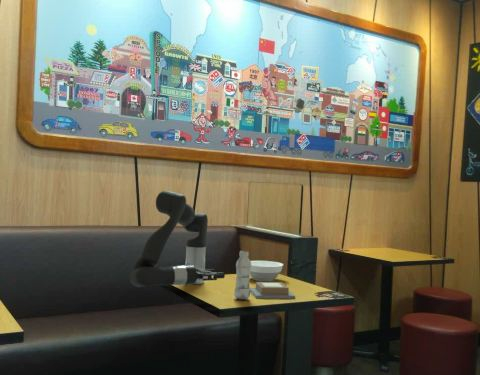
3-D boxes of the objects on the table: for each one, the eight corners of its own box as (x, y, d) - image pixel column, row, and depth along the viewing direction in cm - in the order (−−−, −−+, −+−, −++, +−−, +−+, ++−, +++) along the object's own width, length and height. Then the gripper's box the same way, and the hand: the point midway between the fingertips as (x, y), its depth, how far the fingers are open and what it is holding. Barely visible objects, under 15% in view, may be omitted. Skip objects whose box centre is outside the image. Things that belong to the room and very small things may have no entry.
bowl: (268, 285, 246) (269, 267, 246) (236, 279, 257) (237, 262, 257) (289, 280, 261) (290, 264, 261) (258, 274, 273) (259, 259, 273)
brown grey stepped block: (256, 298, 215) (256, 288, 215) (249, 290, 230) (249, 280, 230) (295, 298, 218) (295, 288, 218) (285, 290, 233) (286, 281, 233)
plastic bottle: (240, 296, 216) (242, 249, 216) (253, 299, 212) (255, 251, 212) (230, 299, 211) (232, 251, 211) (243, 302, 207) (245, 252, 207)
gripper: (190, 268, 192) (228, 266, 200) (175, 262, 204) (212, 261, 212) (189, 288, 192) (227, 286, 200) (175, 281, 204) (211, 279, 212)
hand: (219, 273), depth 206 cm, fingers open, 8 cm apart
